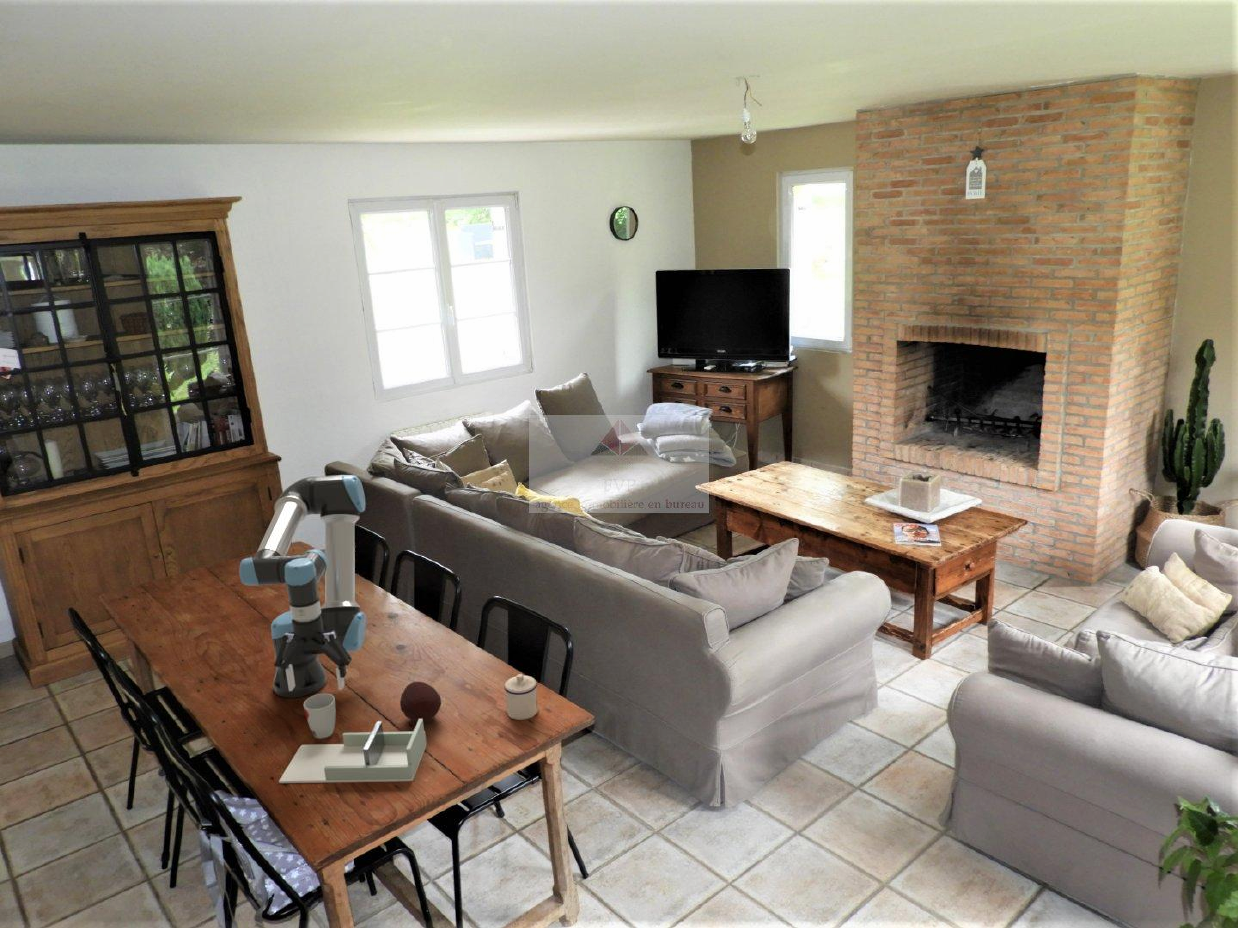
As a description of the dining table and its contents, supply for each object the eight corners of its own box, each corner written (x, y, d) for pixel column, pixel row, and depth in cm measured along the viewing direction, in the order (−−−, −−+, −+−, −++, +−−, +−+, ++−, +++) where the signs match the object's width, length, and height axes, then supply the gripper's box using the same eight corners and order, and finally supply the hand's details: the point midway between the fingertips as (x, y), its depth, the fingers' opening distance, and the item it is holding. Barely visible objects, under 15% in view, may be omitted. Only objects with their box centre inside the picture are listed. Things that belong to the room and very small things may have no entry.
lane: (279, 783, 227) (274, 753, 225) (301, 746, 242) (297, 718, 240) (412, 781, 226) (409, 751, 224) (426, 744, 241) (423, 716, 239)
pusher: (366, 775, 228) (363, 749, 226) (380, 745, 240) (377, 721, 238) (371, 775, 228) (367, 749, 226) (384, 745, 240) (381, 721, 238)
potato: (407, 736, 245) (403, 703, 242) (398, 712, 257) (394, 680, 254) (447, 726, 249) (443, 693, 246) (436, 703, 261) (433, 671, 258)
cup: (312, 726, 252) (307, 694, 249) (341, 723, 252) (337, 692, 249) (305, 743, 244) (300, 710, 241) (335, 740, 245) (331, 708, 242)
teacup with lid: (545, 712, 254) (542, 675, 251) (518, 724, 249) (515, 687, 245) (521, 695, 263) (518, 660, 260) (494, 707, 258) (491, 671, 254)
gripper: (254, 624, 235) (266, 696, 241) (348, 621, 234) (358, 694, 240) (265, 611, 242) (276, 681, 248) (357, 609, 241) (366, 680, 247)
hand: (316, 688), depth 244 cm, fingers open, 13 cm apart
